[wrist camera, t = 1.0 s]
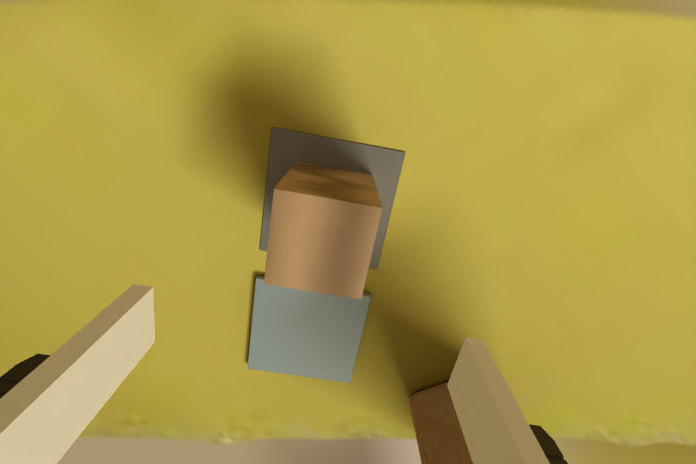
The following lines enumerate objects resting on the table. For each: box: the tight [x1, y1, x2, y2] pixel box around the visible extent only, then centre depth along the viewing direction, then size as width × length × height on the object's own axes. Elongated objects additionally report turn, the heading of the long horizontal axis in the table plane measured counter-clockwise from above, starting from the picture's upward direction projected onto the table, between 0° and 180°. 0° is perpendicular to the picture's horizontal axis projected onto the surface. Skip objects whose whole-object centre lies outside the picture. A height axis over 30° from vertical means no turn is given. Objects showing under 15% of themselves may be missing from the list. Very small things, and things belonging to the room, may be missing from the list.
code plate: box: [260, 127, 405, 269], centre depth 32 cm, size 12×12×1 cm
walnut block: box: [264, 161, 382, 299], centre depth 28 cm, size 7×7×10 cm
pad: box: [248, 276, 371, 383], centre depth 37 cm, size 12×12×1 cm
